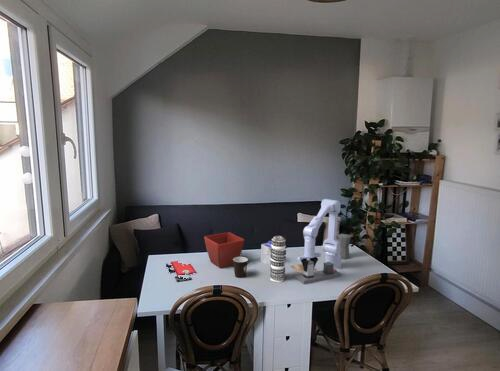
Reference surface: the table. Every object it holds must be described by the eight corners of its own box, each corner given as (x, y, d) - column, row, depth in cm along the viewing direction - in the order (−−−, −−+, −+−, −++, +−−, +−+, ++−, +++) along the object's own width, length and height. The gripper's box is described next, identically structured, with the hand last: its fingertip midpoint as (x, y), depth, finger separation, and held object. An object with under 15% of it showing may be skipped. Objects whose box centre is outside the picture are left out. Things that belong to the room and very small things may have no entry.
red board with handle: (173, 283, 189) (199, 279, 195) (173, 278, 189) (199, 274, 195) (164, 264, 216) (187, 261, 222) (164, 260, 216) (187, 257, 222)
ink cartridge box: (277, 264, 217) (277, 242, 215) (270, 266, 214) (271, 244, 212) (266, 260, 225) (267, 239, 223) (260, 262, 221) (260, 240, 219)
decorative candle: (273, 274, 202) (274, 233, 198) (288, 278, 197) (289, 236, 194) (266, 280, 194) (267, 237, 191) (281, 283, 190) (282, 240, 186)
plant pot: (244, 264, 216) (245, 239, 214) (218, 271, 206) (218, 244, 203) (229, 255, 232) (229, 231, 229) (203, 261, 221) (203, 236, 218)
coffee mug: (236, 279, 194) (237, 263, 192) (230, 274, 202) (230, 258, 200) (254, 276, 199) (255, 259, 198) (248, 270, 207) (248, 255, 205)
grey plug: (309, 272, 197) (309, 259, 196) (313, 275, 193) (313, 261, 192) (303, 273, 195) (303, 260, 194) (307, 276, 191) (307, 262, 190)
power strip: (331, 272, 207) (331, 266, 206) (340, 277, 200) (340, 271, 199) (295, 279, 195) (295, 274, 195) (303, 285, 188) (303, 279, 188)
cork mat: (305, 264, 219) (305, 263, 219) (317, 271, 208) (317, 270, 208) (289, 267, 213) (289, 266, 213) (300, 274, 203) (300, 273, 203)
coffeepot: (335, 259, 227) (337, 233, 225) (331, 254, 237) (332, 229, 234) (358, 259, 229) (359, 233, 226) (353, 254, 238) (354, 229, 235)
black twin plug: (328, 274, 203) (329, 261, 202) (332, 277, 200) (333, 264, 198) (323, 275, 201) (323, 262, 200) (327, 278, 198) (328, 265, 197)
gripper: (315, 243, 198) (314, 265, 200) (294, 246, 192) (294, 269, 194) (323, 247, 192) (322, 270, 194) (302, 250, 186) (301, 274, 188)
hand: (308, 270), depth 193 cm, fingers closed on grey plug, 4 cm apart
